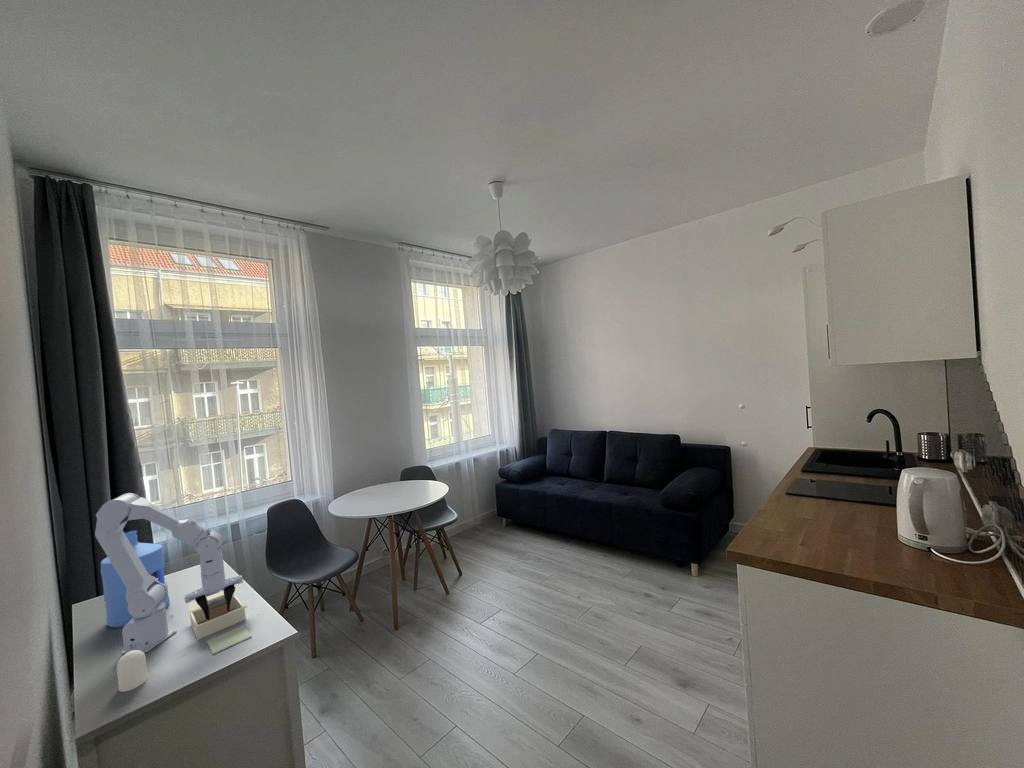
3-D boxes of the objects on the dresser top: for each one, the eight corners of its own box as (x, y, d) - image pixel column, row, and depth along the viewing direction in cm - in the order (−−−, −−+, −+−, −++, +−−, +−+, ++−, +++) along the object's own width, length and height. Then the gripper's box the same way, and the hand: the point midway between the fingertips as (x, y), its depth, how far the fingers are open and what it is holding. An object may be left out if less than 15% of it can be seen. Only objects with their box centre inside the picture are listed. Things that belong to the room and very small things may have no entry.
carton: (248, 623, 123) (246, 605, 123) (200, 645, 115) (197, 625, 115) (234, 603, 137) (232, 587, 137) (189, 621, 128) (187, 603, 128)
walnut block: (228, 621, 126) (226, 599, 126) (211, 628, 123) (208, 606, 123) (225, 616, 129) (223, 594, 129) (208, 623, 126) (205, 601, 126)
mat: (251, 637, 116) (251, 635, 116) (213, 654, 109) (213, 653, 109) (243, 626, 122) (243, 624, 122) (207, 642, 116) (206, 640, 116)
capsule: (122, 682, 102) (119, 651, 102) (150, 672, 105) (146, 642, 105) (115, 695, 97) (111, 662, 97) (144, 684, 100) (141, 653, 100)
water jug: (111, 634, 125) (101, 545, 125) (103, 620, 135) (93, 537, 134) (175, 608, 138) (166, 527, 137) (163, 597, 147) (154, 521, 147)
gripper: (237, 559, 134) (241, 599, 134) (181, 578, 123) (186, 621, 123) (242, 564, 129) (247, 606, 129) (184, 584, 118) (189, 630, 119)
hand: (217, 614), depth 126 cm, fingers closed on walnut block, 4 cm apart
